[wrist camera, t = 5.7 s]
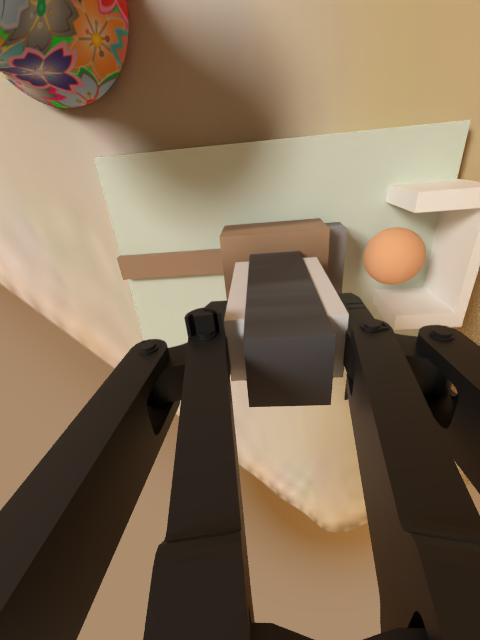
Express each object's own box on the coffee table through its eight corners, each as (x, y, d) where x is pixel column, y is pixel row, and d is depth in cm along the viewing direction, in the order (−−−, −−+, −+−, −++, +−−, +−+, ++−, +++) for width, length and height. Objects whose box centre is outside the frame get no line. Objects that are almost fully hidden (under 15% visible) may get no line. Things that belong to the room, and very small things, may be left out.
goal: (388, 184, 19) (418, 192, 15) (457, 178, 18) (504, 184, 15) (372, 302, 22) (393, 329, 19) (429, 299, 22) (461, 326, 19)
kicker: (224, 225, 19) (186, 310, 9) (339, 216, 19) (442, 297, 8) (232, 296, 22) (208, 429, 11) (334, 290, 21) (409, 425, 11)
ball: (423, 237, 16) (437, 223, 18) (357, 232, 18) (377, 220, 20) (411, 297, 18) (425, 278, 20) (352, 287, 20) (370, 270, 22)
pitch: (100, 157, 20) (88, 157, 18) (460, 121, 18) (477, 118, 16) (154, 359, 27) (149, 370, 26) (410, 348, 25) (419, 360, 24)
